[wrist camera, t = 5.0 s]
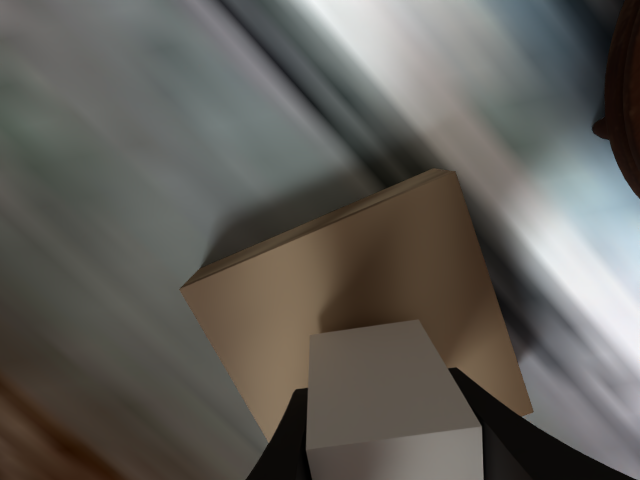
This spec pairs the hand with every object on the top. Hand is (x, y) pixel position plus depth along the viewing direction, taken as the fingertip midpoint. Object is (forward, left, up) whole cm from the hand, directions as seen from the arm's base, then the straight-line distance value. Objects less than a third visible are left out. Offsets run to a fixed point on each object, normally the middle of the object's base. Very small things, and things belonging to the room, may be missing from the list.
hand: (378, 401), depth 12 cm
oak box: (0, 0, -6) cm, 6 cm away
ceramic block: (0, +1, -2) cm, 2 cm away
